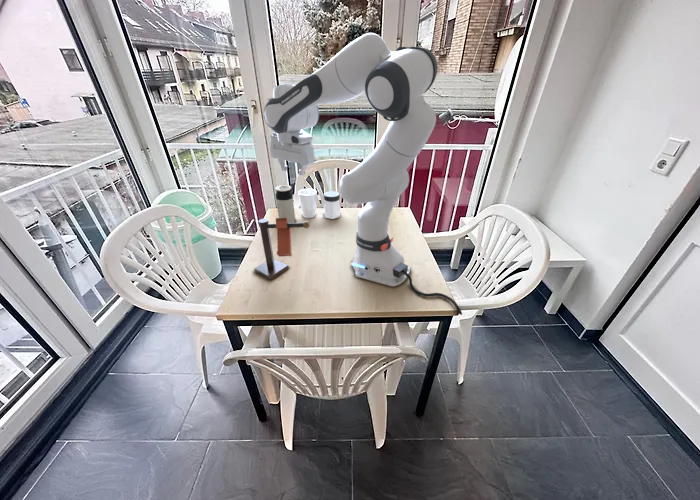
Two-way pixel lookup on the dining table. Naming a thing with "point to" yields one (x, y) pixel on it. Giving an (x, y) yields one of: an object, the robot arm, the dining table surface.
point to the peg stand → (272, 265)
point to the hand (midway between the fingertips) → (293, 172)
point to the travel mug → (285, 203)
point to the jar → (332, 204)
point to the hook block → (283, 237)
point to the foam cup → (308, 202)
